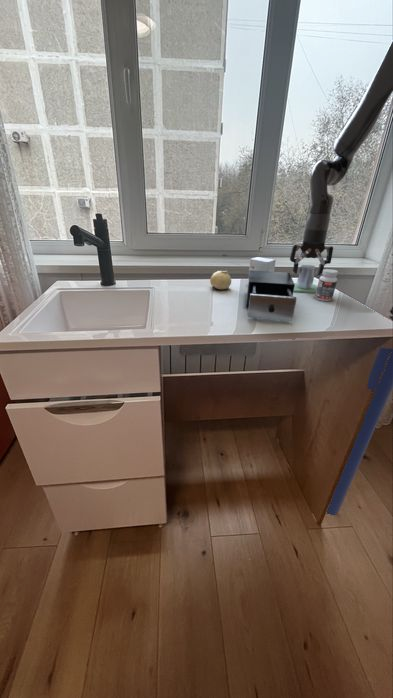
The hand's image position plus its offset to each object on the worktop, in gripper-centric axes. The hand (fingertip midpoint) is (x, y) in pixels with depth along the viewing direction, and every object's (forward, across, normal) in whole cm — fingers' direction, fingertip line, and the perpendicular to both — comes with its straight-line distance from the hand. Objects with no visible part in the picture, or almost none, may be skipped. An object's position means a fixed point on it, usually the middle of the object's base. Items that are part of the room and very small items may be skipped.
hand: (307, 273), depth 108 cm
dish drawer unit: (+6, -15, -19) cm, 25 cm away
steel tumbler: (+5, 0, 0) cm, 5 cm away
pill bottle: (+6, +5, -11) cm, 13 cm away
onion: (+6, -32, -7) cm, 33 cm away
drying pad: (+6, 0, 0) cm, 6 cm away
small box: (+6, -17, -1) cm, 18 cm away
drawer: (+5, -15, -30) cm, 34 cm away
